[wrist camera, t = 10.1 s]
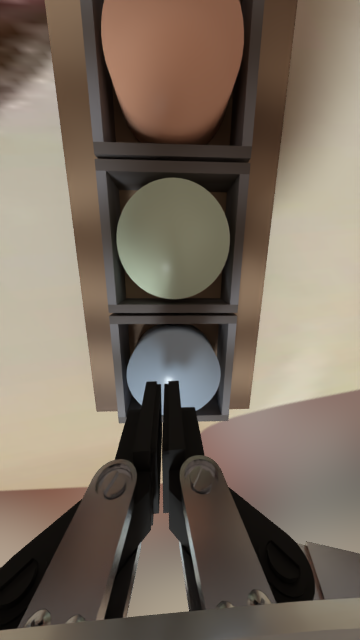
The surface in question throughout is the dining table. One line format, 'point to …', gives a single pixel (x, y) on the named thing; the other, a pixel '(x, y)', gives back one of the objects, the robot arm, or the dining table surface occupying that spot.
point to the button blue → (175, 364)
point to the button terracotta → (173, 65)
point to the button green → (173, 238)
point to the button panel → (170, 162)
